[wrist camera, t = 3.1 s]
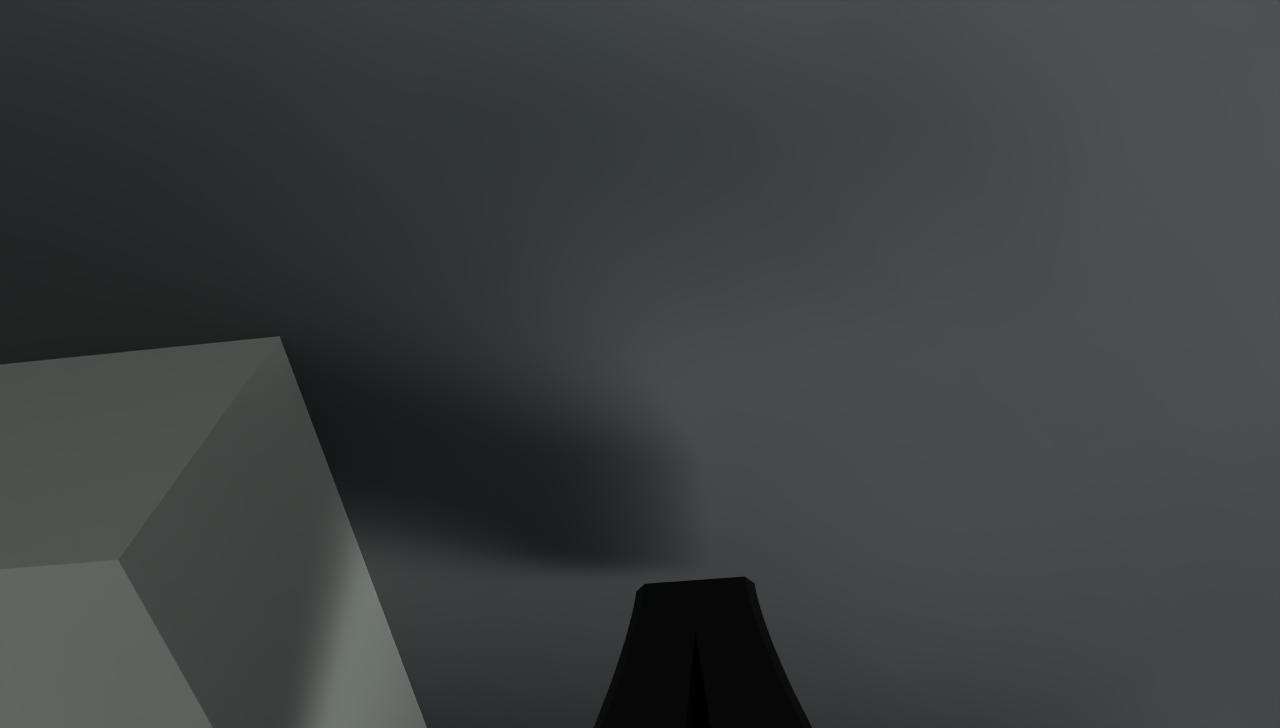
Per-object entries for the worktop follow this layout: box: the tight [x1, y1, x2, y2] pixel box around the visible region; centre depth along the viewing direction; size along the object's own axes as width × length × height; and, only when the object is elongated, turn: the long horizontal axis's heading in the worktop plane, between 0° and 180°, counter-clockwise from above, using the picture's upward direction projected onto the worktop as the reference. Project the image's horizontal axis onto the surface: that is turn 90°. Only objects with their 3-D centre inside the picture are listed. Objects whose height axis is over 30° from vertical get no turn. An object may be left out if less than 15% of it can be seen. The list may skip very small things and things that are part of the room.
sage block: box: [0, 336, 427, 728], centre depth 12 cm, size 6×8×4 cm
